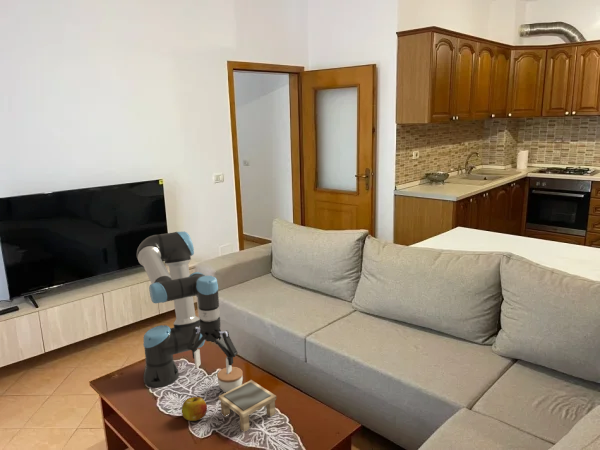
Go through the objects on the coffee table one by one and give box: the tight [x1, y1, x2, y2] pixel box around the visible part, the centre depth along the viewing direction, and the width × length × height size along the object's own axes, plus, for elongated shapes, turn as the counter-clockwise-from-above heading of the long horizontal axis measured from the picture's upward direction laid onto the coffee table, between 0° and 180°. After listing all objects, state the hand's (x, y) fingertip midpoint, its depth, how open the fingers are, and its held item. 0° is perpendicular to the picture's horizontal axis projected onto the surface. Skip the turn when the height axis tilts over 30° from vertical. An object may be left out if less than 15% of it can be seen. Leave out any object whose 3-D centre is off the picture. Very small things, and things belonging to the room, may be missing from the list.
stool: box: [218, 379, 277, 433], centre depth 179 cm, size 16×16×8 cm
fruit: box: [181, 396, 208, 422], centre depth 178 cm, size 10×9×8 cm
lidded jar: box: [216, 366, 244, 393], centre depth 196 cm, size 11×11×9 cm
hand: (213, 369), depth 175 cm, fingers open, 13 cm apart
